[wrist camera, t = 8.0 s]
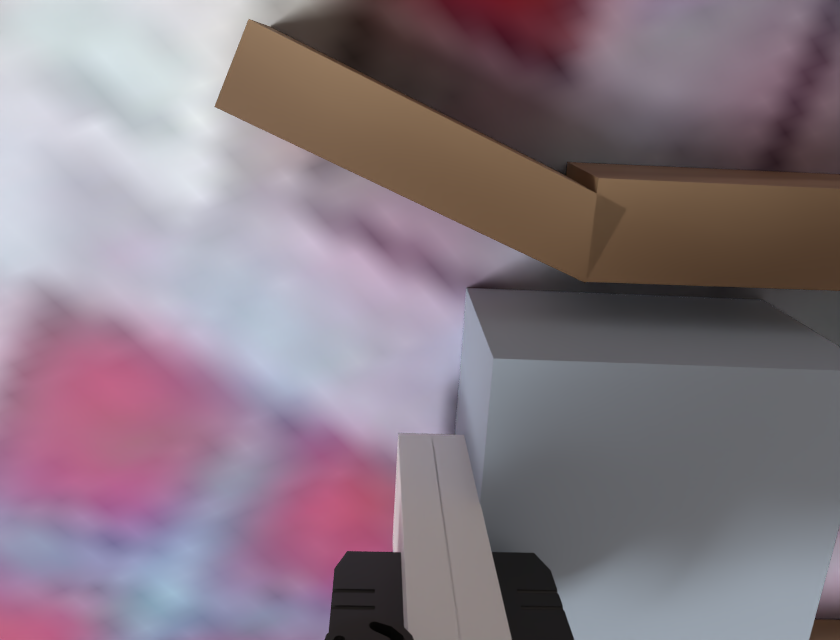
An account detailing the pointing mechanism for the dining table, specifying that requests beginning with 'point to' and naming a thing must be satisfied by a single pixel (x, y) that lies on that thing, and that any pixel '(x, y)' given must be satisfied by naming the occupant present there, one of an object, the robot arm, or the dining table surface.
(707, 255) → the brown angular open frame
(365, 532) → the dining table surface
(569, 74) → the dining table surface
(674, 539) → the grey rectangular block
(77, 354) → the dining table surface
